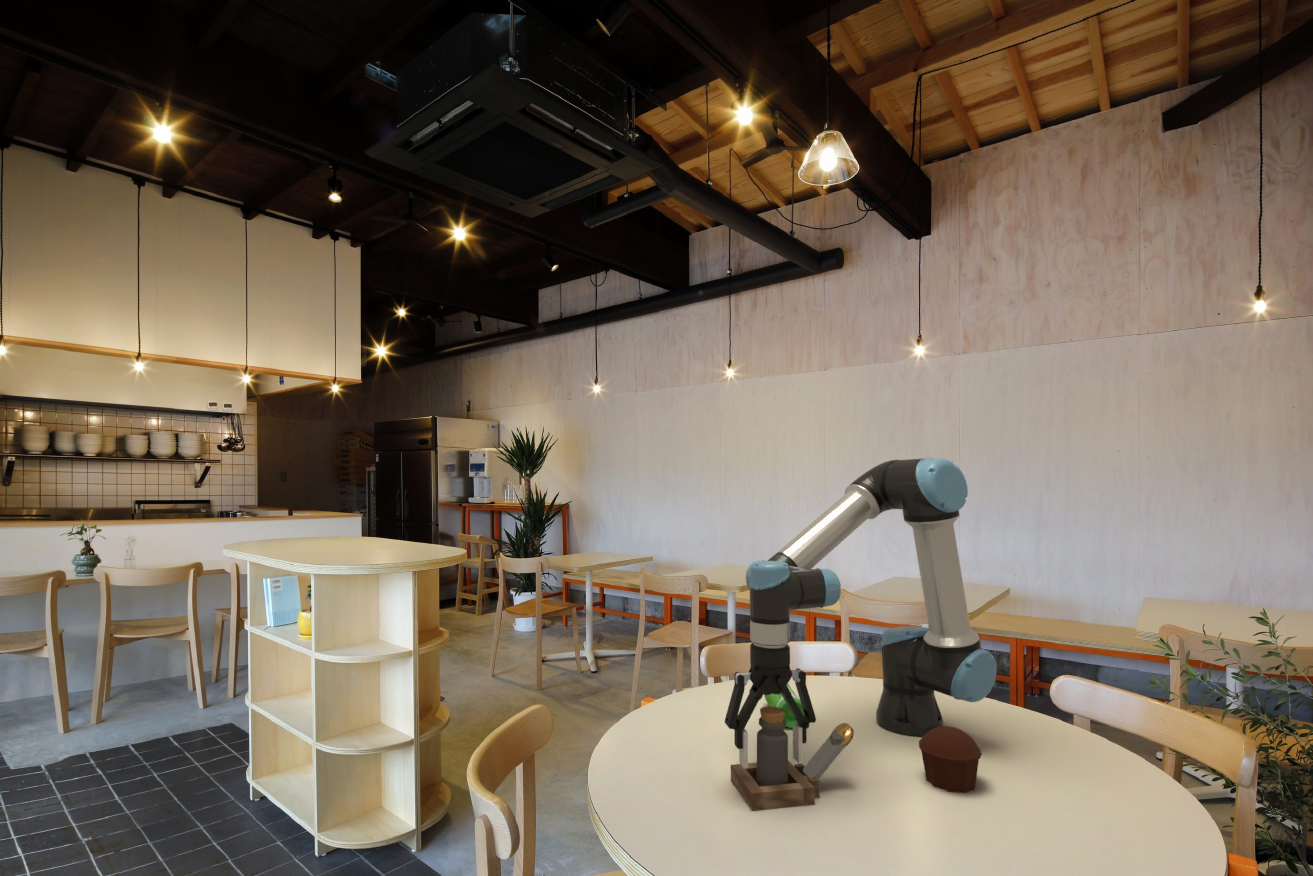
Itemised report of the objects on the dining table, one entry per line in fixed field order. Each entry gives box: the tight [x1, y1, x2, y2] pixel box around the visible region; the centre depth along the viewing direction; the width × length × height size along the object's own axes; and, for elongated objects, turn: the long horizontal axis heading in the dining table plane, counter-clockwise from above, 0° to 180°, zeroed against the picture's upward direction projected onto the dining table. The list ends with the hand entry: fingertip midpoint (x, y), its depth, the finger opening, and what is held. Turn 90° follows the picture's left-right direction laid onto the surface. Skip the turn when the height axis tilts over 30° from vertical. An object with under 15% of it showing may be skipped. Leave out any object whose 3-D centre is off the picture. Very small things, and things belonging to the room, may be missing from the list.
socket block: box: [730, 759, 820, 812], centre depth 122 cm, size 14×12×3 cm
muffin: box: [918, 725, 983, 794], centre depth 126 cm, size 12×11×10 cm
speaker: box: [764, 683, 804, 729], centre depth 161 cm, size 18×7×8 cm, turn 2°
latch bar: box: [800, 722, 855, 781], centre depth 124 cm, size 14×5×1 cm
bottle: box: [756, 705, 789, 787], centre depth 122 cm, size 6×6×15 cm
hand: (770, 763), depth 122 cm, fingers open, 10 cm apart
